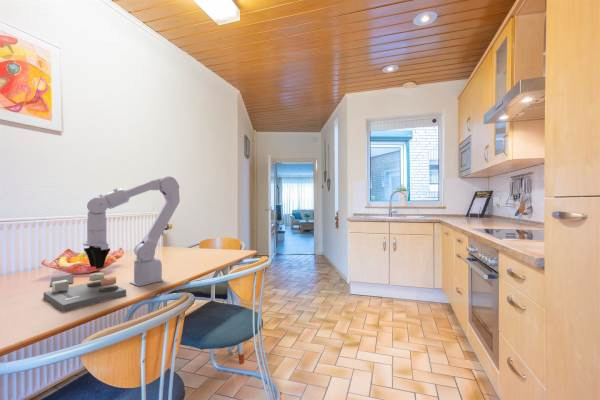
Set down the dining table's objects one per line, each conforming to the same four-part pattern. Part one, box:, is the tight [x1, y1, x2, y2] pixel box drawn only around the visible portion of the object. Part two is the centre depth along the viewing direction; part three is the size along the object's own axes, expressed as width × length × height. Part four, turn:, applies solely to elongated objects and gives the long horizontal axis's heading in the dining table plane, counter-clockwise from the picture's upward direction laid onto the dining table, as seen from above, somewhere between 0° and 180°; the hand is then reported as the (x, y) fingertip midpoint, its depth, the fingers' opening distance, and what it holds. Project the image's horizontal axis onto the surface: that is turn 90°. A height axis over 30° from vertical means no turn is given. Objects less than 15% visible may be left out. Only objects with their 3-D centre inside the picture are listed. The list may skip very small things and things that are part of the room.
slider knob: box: [51, 280, 70, 293], centre depth 92 cm, size 4×3×3 cm
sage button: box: [88, 272, 105, 282], centre depth 100 cm, size 4×4×2 cm
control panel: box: [43, 280, 127, 313], centre depth 93 cm, size 17×20×3 cm
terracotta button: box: [101, 276, 117, 286], centre depth 94 cm, size 4×4×2 cm
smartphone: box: [49, 274, 74, 288], centre depth 111 cm, size 7×1×15 cm
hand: (96, 267), depth 100 cm, fingers open, 4 cm apart
